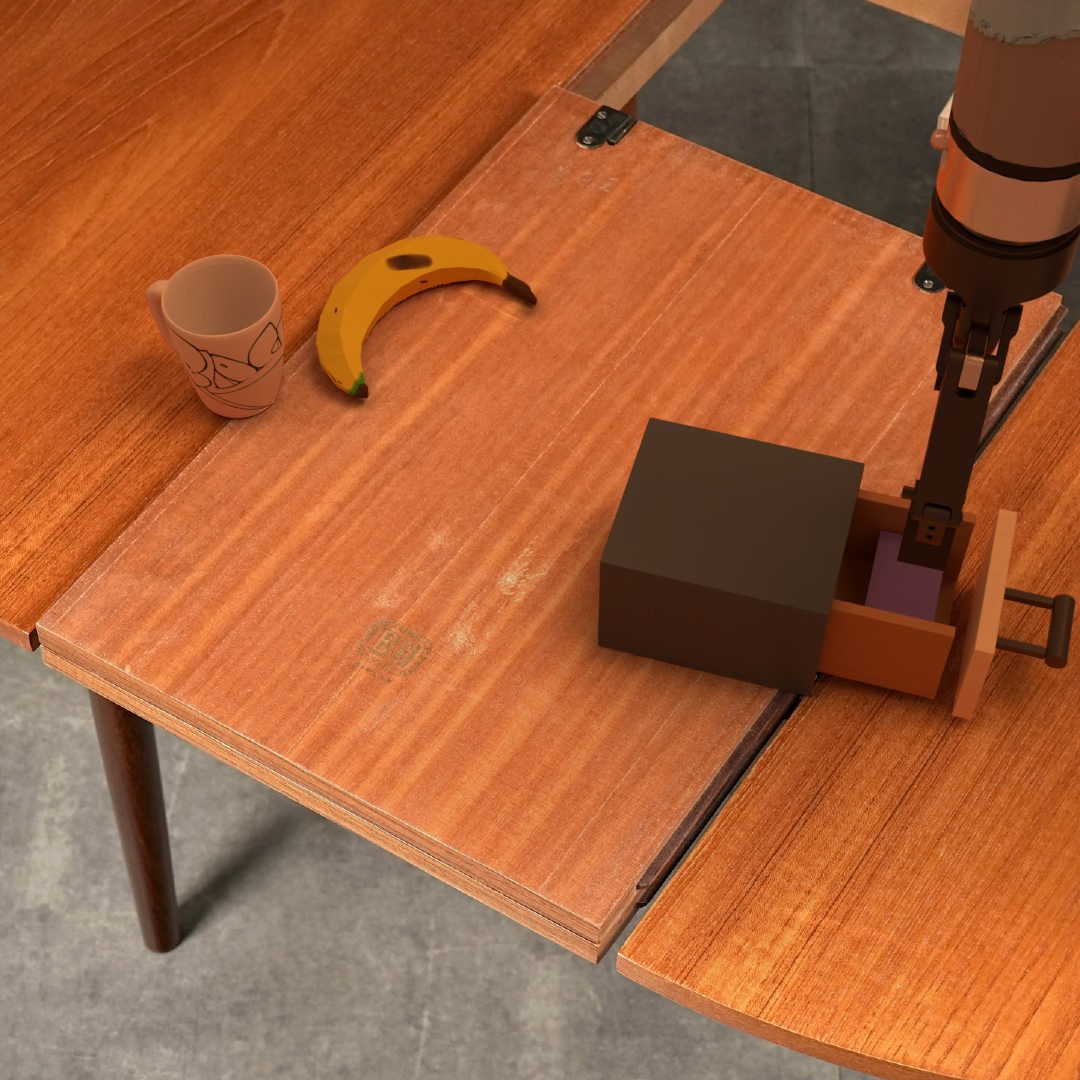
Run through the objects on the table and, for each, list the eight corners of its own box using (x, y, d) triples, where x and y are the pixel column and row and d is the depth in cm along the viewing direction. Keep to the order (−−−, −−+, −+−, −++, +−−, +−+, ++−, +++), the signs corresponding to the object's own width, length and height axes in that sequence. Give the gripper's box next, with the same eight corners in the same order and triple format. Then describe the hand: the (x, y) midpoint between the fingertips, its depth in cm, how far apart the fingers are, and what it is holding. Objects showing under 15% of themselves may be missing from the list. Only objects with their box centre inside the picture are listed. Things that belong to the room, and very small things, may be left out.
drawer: (1066, 598, 115) (1095, 528, 109) (1047, 738, 109) (1076, 673, 102) (799, 538, 119) (812, 467, 112) (765, 670, 112) (776, 603, 106)
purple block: (938, 579, 115) (948, 544, 112) (920, 675, 110) (930, 641, 107) (872, 564, 116) (880, 529, 113) (851, 659, 111) (859, 625, 108)
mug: (131, 390, 129) (102, 295, 121) (199, 320, 133) (175, 225, 125) (253, 446, 126) (232, 353, 118) (318, 373, 130) (302, 278, 122)
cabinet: (846, 550, 119) (865, 462, 111) (811, 697, 112) (828, 615, 104) (644, 504, 122) (649, 416, 114) (597, 645, 115) (599, 561, 107)
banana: (289, 354, 125) (480, 420, 124) (374, 192, 134) (553, 252, 133) (289, 390, 129) (475, 454, 128) (373, 230, 138) (546, 289, 137)
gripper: (969, 35, 92) (910, 314, 108) (891, 363, 77) (837, 625, 94) (1111, 58, 90) (1029, 337, 107) (1058, 395, 76) (973, 656, 93)
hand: (939, 472), depth 101 cm, fingers open, 13 cm apart
